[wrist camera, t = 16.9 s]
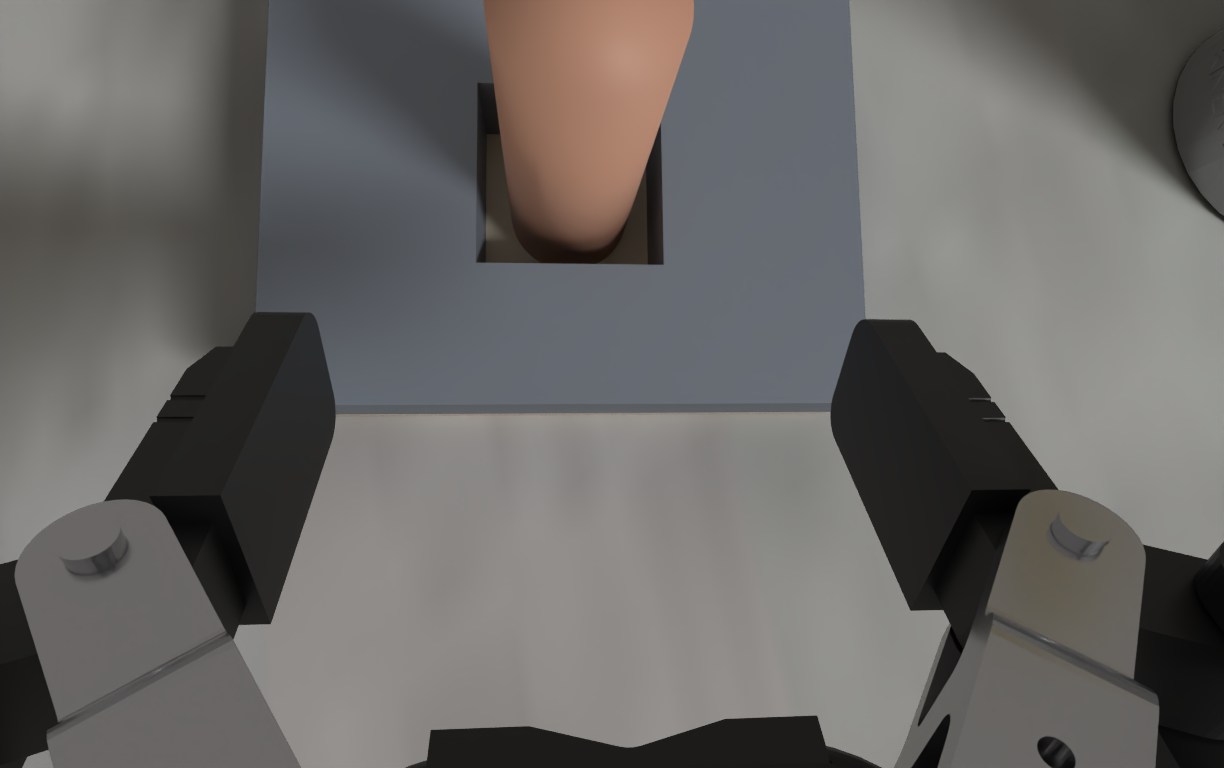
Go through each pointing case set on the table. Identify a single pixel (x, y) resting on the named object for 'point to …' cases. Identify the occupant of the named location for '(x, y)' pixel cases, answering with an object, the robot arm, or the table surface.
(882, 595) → the table surface
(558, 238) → the peg
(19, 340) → the table surface
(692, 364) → the socket block
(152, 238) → the table surface
